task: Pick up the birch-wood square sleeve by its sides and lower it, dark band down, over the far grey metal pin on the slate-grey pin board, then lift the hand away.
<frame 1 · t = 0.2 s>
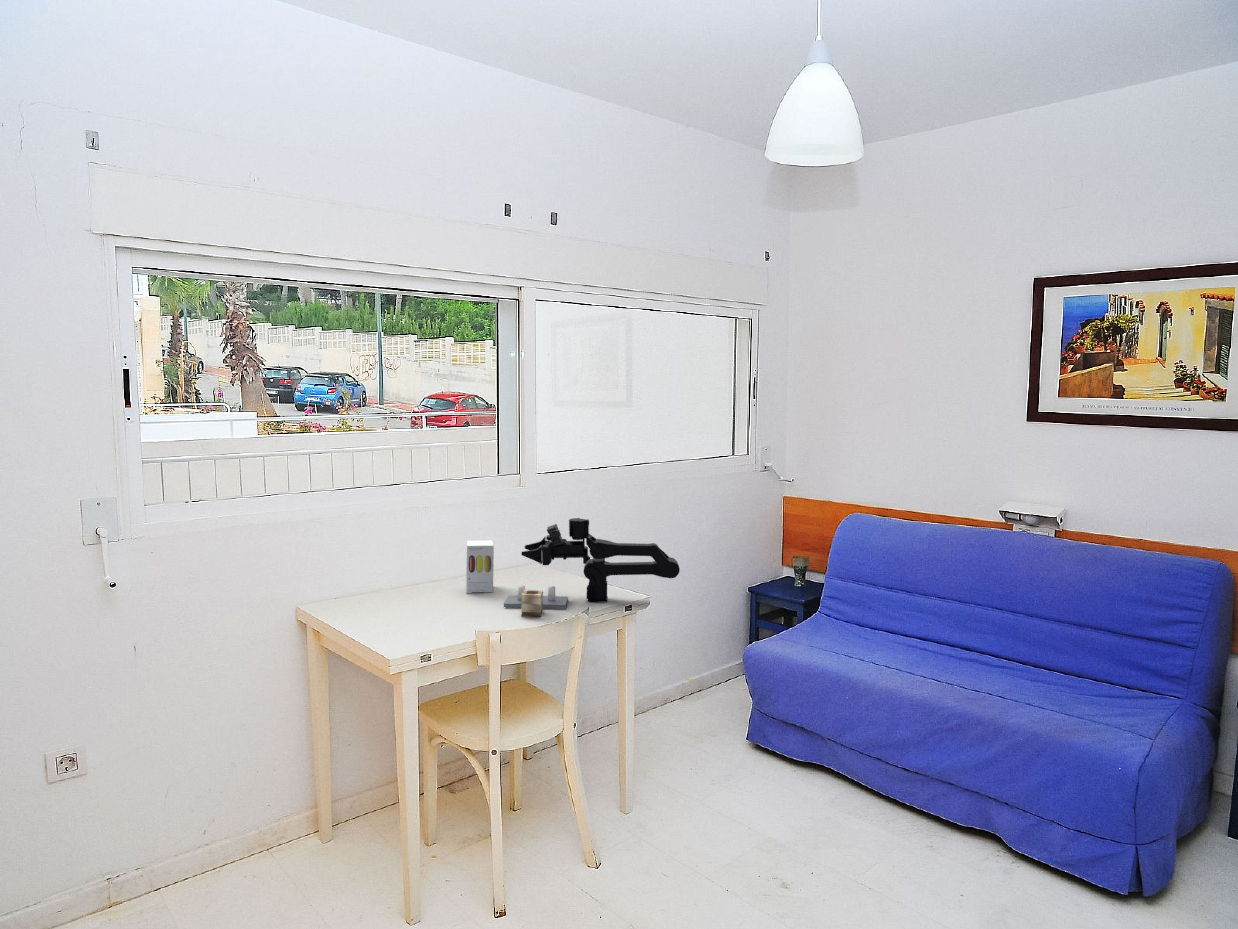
hand: (523, 550, 272), 17 cm above the table, tool horizontal, fingers open, 9 cm apart
pin board: (536, 604, 267), on the table
sleeve: (532, 614, 256), on the table
supplement box: (479, 590, 285), on the table
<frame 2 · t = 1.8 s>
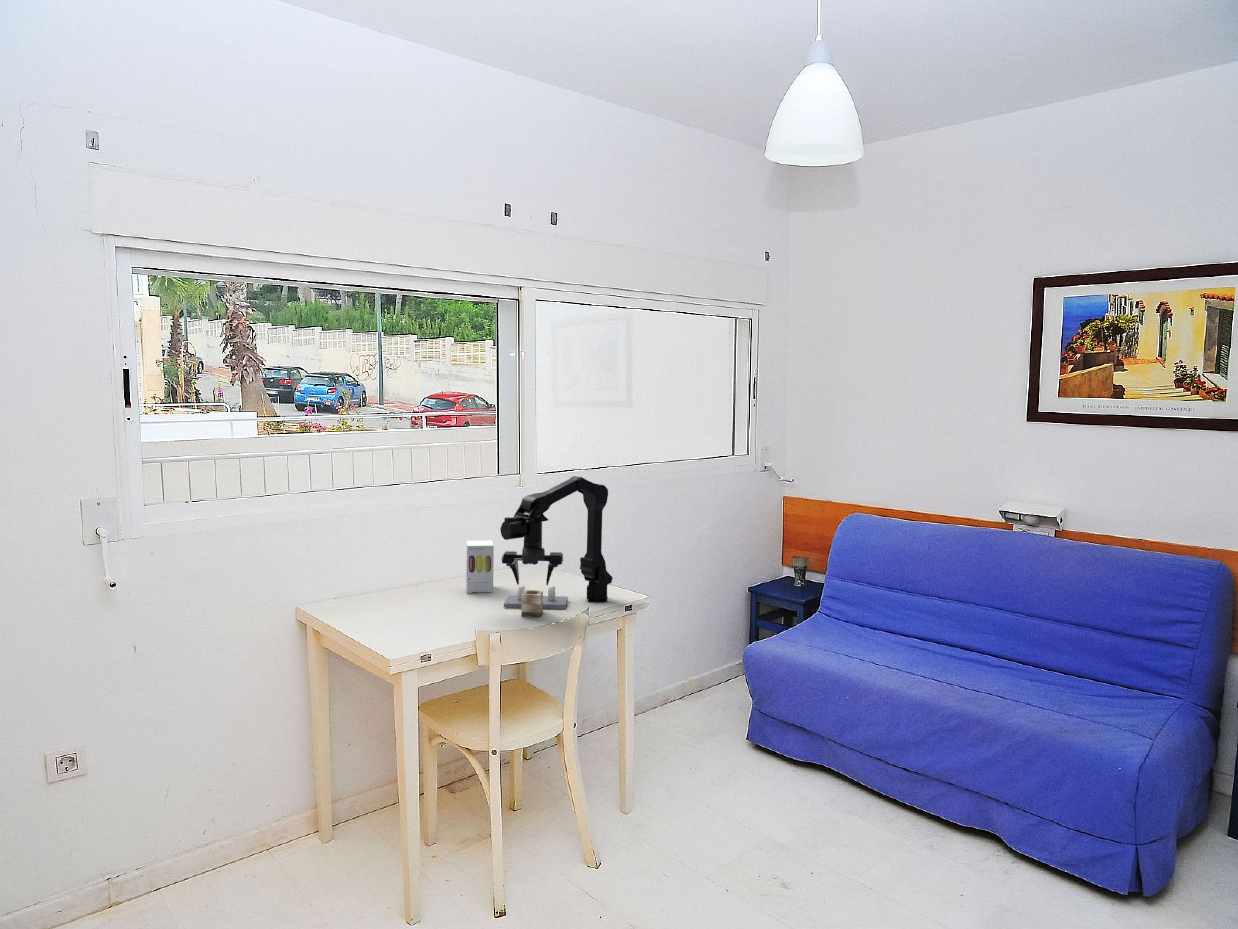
hand: (532, 584, 255), 9 cm above the table, tool pointing down, fingers open, 9 cm apart
nothing on the table moved.
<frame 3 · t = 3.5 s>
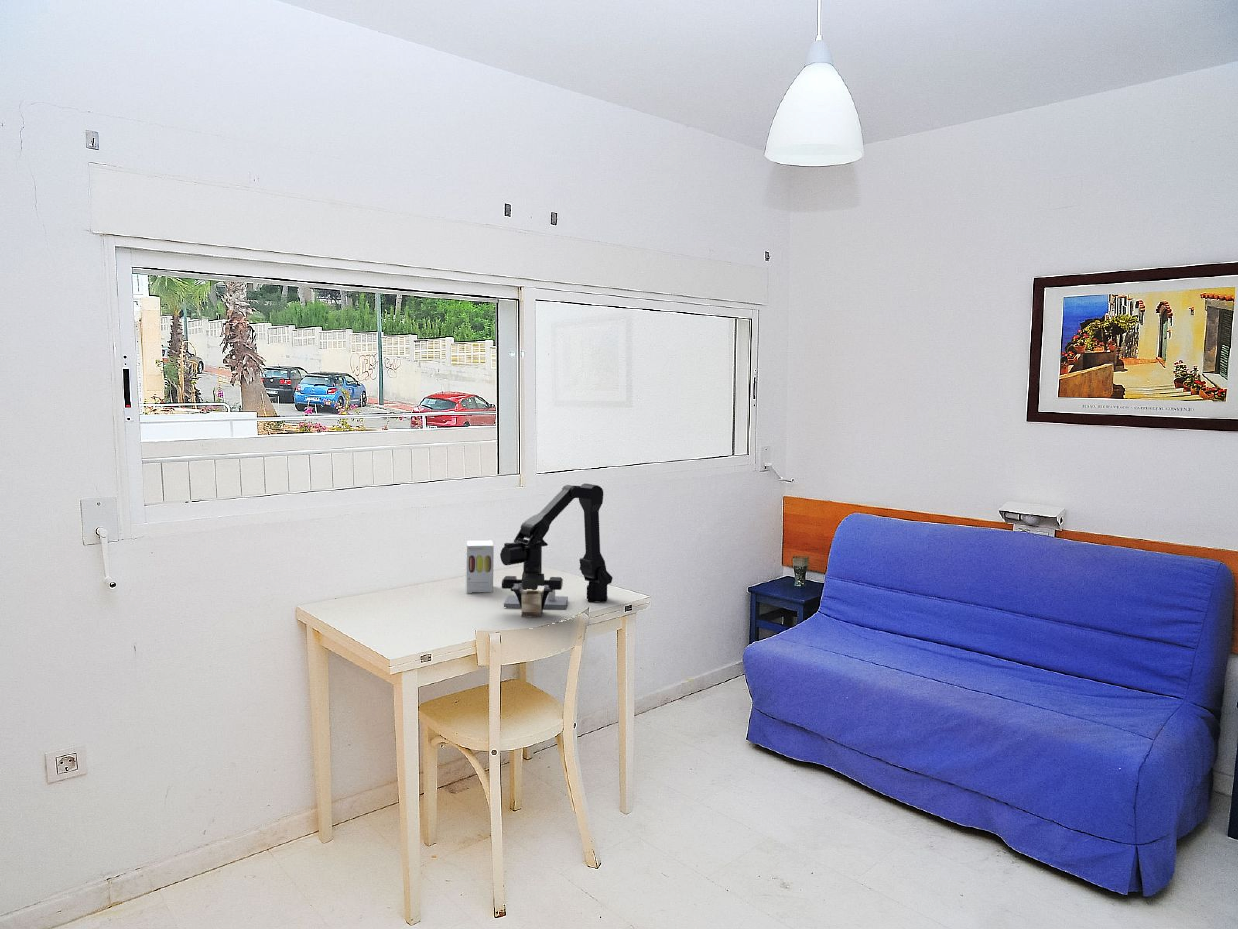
hand: (532, 609, 256), 2 cm above the table, tool pointing down, fingers closed on sleeve, 6 cm apart
sleeve: (532, 614, 256), on the table, touching gripper
everything else where it was.
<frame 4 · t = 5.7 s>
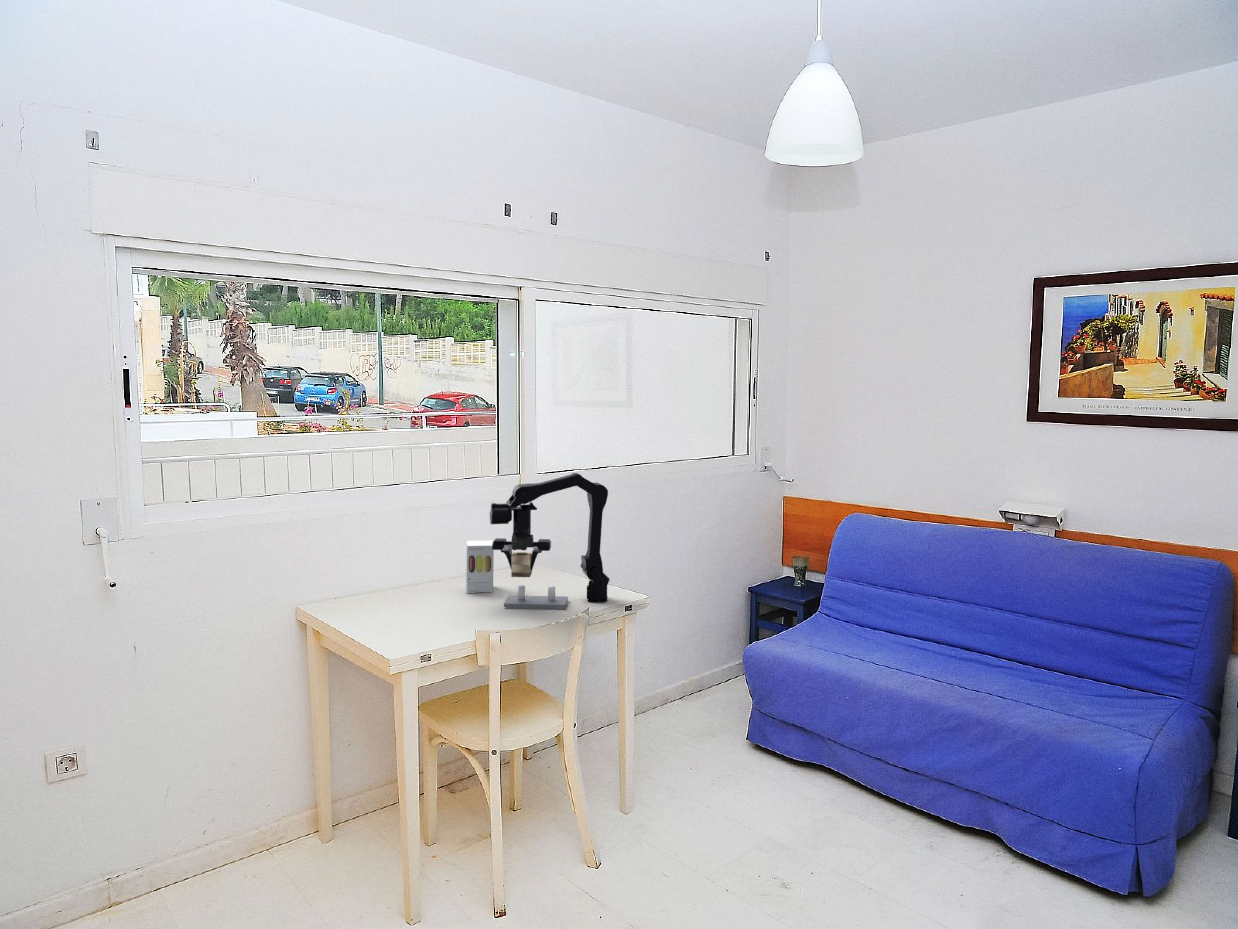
hand: (521, 570, 266), 11 cm above the table, tool pointing down, fingers closed on sleeve, 6 cm apart
sleeve: (521, 574, 266), point 10 cm above the table, touching gripper
everything else where it was.
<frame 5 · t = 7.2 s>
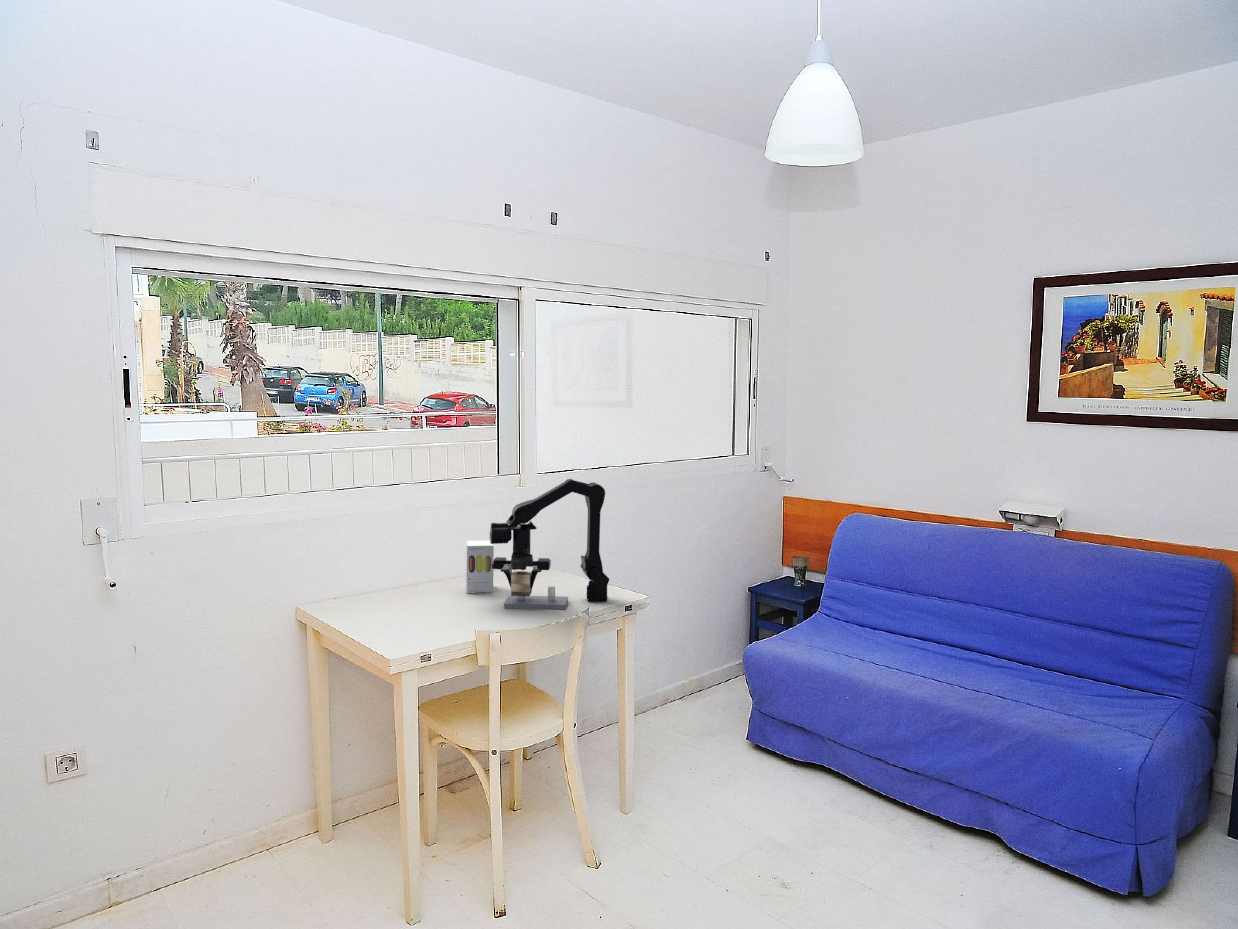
hand: (521, 589, 267), 5 cm above the table, tool pointing down, fingers closed on sleeve, 6 cm apart
sleeve: (521, 593, 267), point 3 cm above the table, touching gripper
everything else where it was.
when the fingers open (4 cm above the table, at t = 8.2 s): sleeve drops 1 cm, resting on pin board.
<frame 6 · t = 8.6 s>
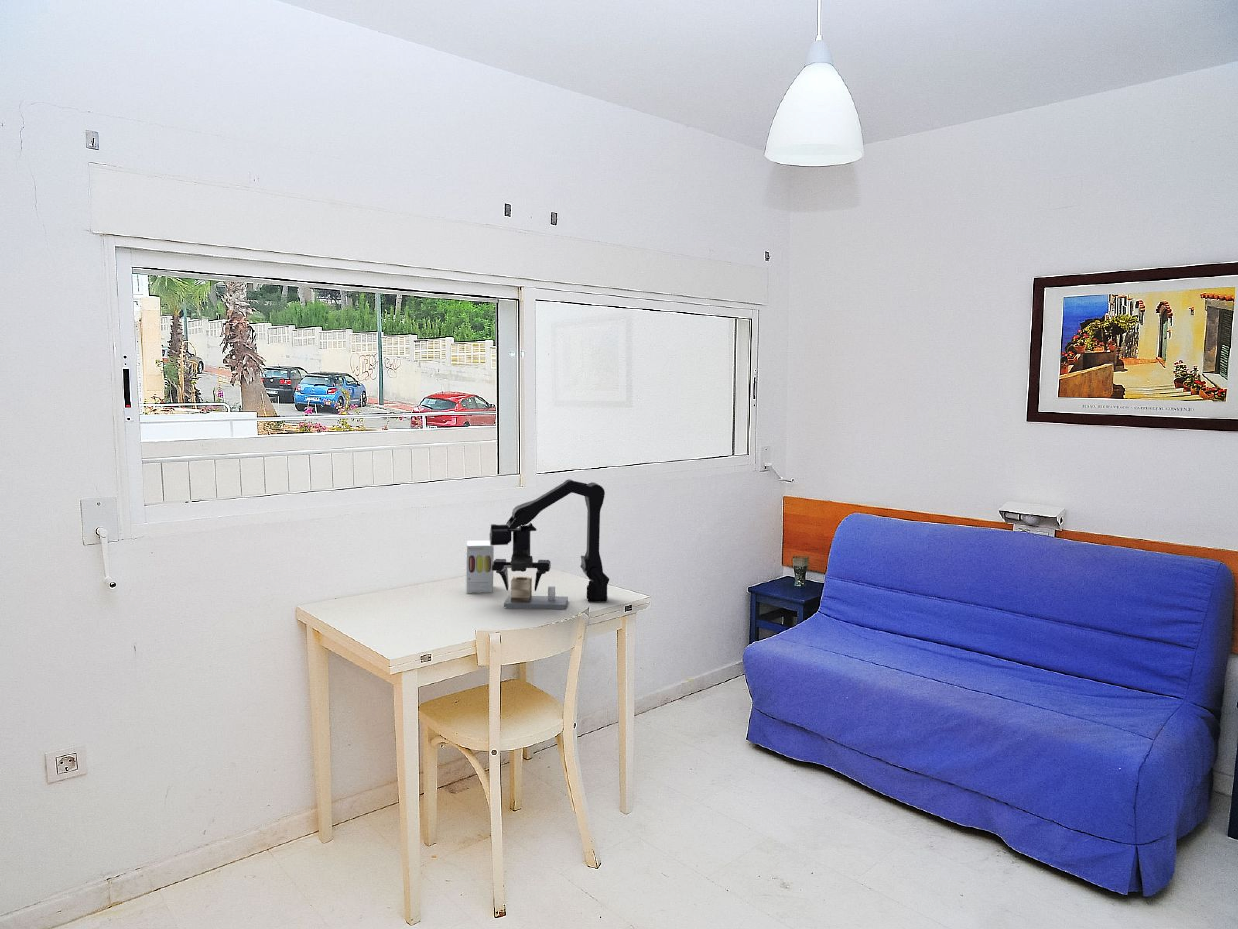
hand: (521, 590, 267), 4 cm above the table, tool pointing down, fingers open, 9 cm apart
sleeve: (521, 599, 267), point 1 cm above the table, touching pin board
everything else where it was.
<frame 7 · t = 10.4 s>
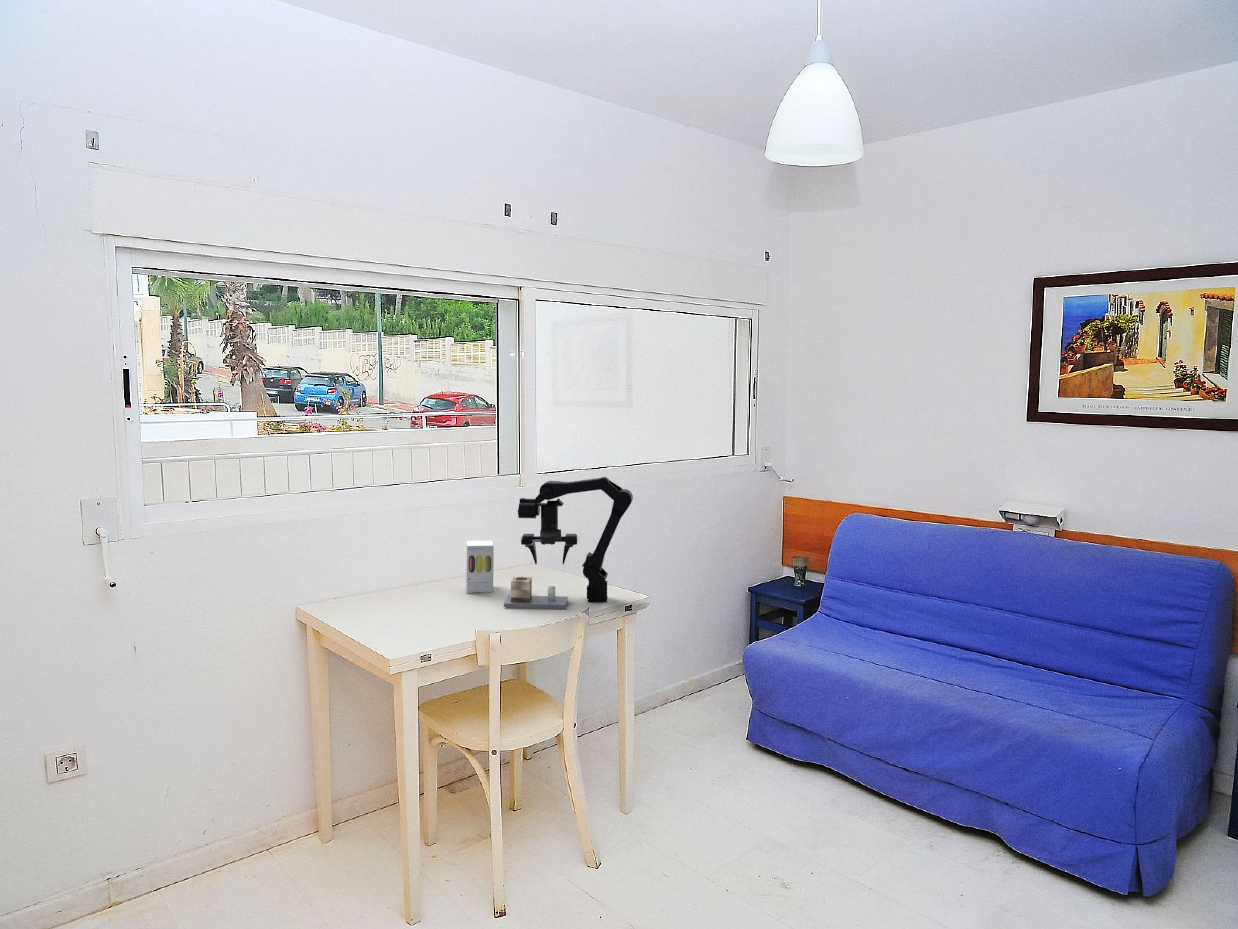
hand: (549, 564, 274), 12 cm above the table, tool pointing down, fingers open, 9 cm apart
nothing on the table moved.
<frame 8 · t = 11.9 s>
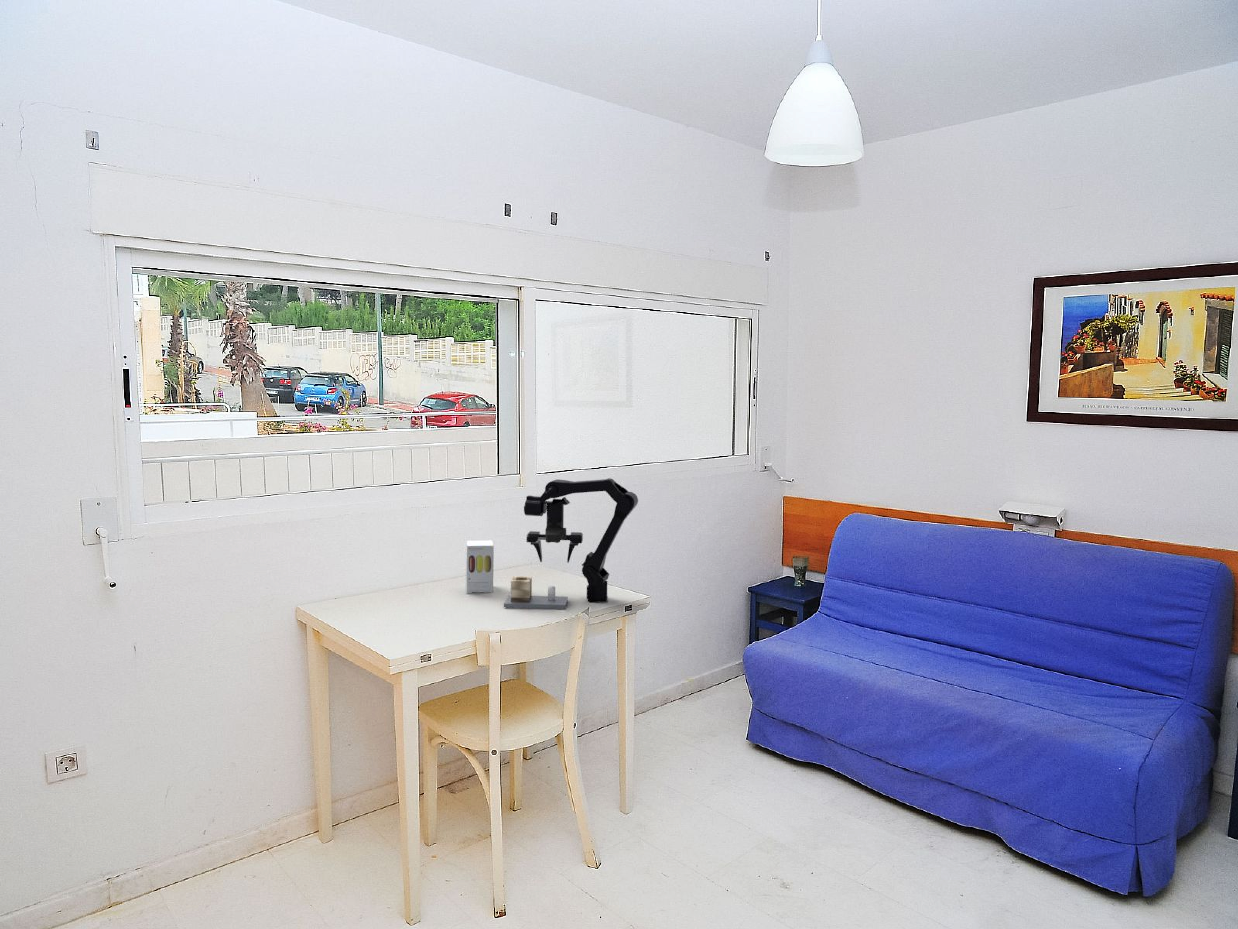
hand: (554, 562, 276), 12 cm above the table, tool pointing down, fingers open, 9 cm apart
nothing on the table moved.
at the end: sleeve 0.0 cm from the target spot on the pin board, point 1.5 cm above the pin board's base; sleeve tilted 0°; the gripper is holding nothing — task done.
